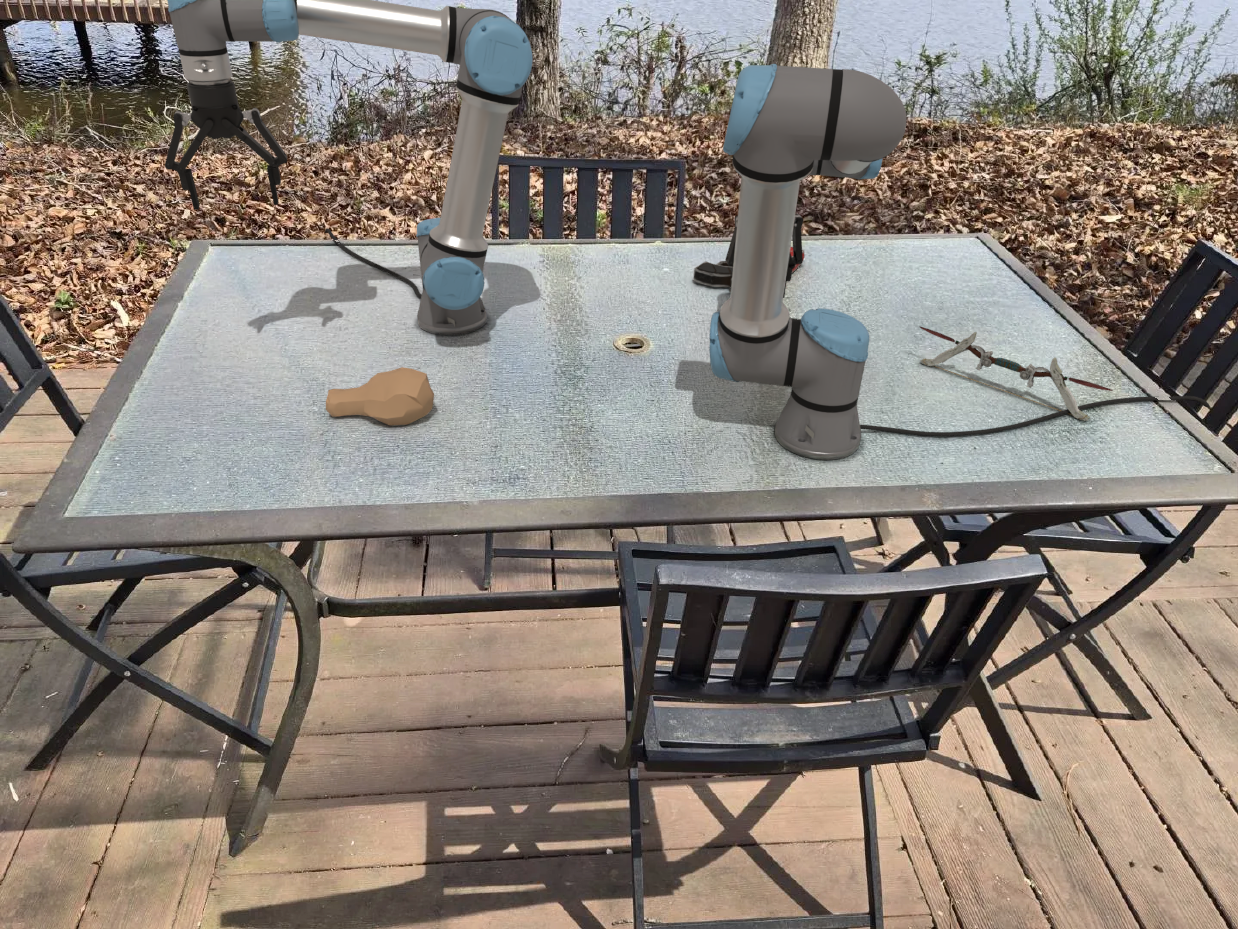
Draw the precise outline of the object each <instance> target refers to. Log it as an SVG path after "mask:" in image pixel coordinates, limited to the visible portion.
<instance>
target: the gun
mask: <svg viewBox="0 0 1238 929" xmlns="http://www.w3.org/2000/svg"><path fill="white" fill-rule="evenodd" d="M790 254H791V257H793V246H791V247H790ZM802 256H803V262H804V259H805V256H806V255H805V249H802ZM803 262H802V264H803ZM802 264H796V265H795V268H793V269H792V274H793V273H794V272H795V271H796V270H797V269H798V268H799V267H800V266H802ZM732 275H733V267H730V266H729V265H728V264H727V262H726V261H725V260H720V261H719V262H717V263H712V262H709V261H706V260H705V261H704V262H702V263H701V264H699V265H697V266H696V267H693V279H692V281H694V282H696V283H697V284H702V285H703V286H708V287H713V288H714V287H715V288H729V293H731V286H732Z"/></svg>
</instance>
